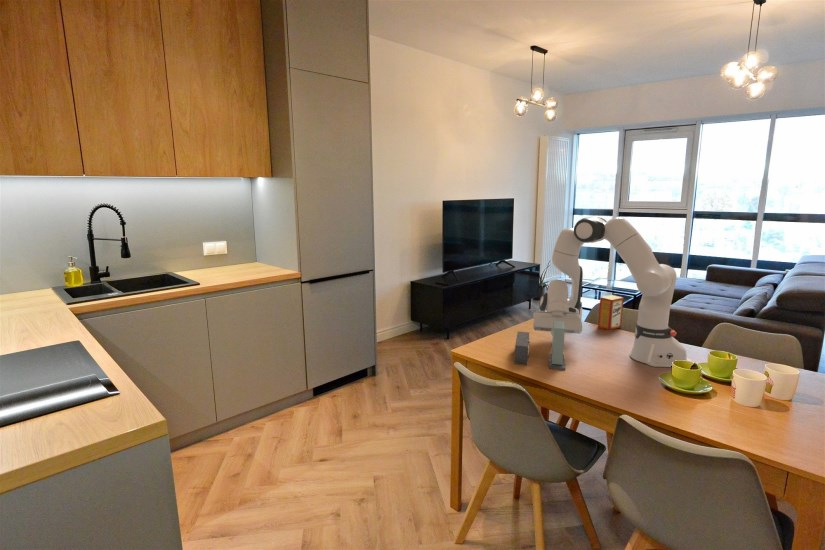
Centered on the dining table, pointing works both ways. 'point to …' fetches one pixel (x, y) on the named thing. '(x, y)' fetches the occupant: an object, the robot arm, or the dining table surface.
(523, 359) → the block
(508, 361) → the dining table surface
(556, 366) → the rail
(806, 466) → the dining table surface
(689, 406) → the dining table surface
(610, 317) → the baking soda box
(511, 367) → the dining table surface
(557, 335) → the block
